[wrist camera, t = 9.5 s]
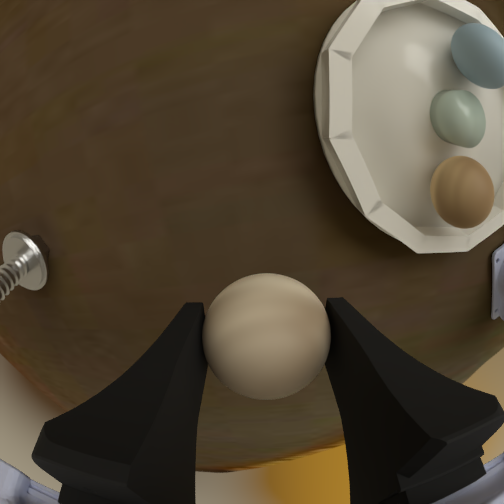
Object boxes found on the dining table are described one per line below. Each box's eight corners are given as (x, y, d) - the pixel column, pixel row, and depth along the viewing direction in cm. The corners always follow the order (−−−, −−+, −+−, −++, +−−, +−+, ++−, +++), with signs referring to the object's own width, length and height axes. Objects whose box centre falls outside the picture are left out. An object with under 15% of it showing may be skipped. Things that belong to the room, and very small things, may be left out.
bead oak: (470, 168, 15) (512, 175, 11) (455, 227, 17) (495, 245, 12) (426, 144, 15) (469, 144, 11) (409, 208, 16) (450, 224, 12)
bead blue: (490, 80, 12) (533, 83, 8) (455, 95, 13) (501, 98, 9) (465, 24, 10) (507, 16, 6) (427, 33, 11) (470, 22, 7)
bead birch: (331, 311, 12) (362, 391, 8) (245, 351, 13) (247, 433, 9) (285, 229, 10) (310, 305, 6) (186, 285, 11) (163, 370, 7)
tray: (530, 182, 16) (548, 191, 14) (380, 284, 20) (394, 304, 18) (461, -19, 9) (481, -26, 6) (251, 38, 13) (252, 25, 10)
